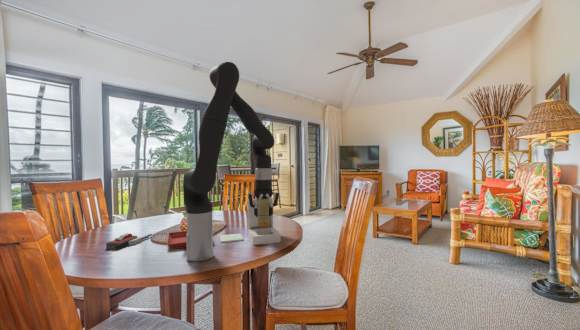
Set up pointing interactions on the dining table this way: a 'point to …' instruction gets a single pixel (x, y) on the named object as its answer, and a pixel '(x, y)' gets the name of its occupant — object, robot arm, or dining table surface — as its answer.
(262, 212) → the shoe polish box
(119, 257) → the dining table surface
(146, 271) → the dining table surface
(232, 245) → the dining table surface
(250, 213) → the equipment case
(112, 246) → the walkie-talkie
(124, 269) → the dining table surface
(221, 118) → the robot arm
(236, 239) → the sage mat
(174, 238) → the plant saucer
